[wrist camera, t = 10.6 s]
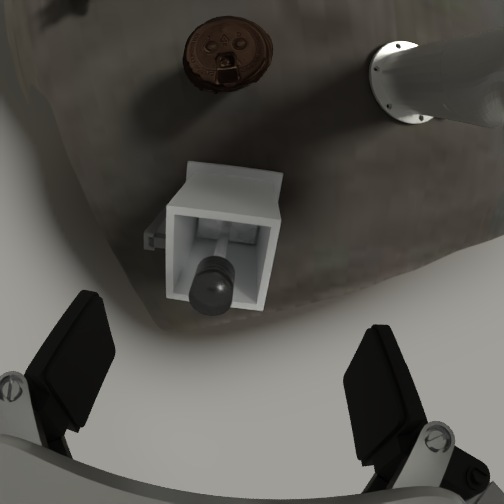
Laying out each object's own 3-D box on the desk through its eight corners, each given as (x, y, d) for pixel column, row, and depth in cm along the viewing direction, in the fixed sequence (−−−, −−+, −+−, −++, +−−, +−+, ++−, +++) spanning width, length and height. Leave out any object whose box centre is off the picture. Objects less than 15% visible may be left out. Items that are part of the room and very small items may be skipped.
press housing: (282, 172, 40) (296, 209, 26) (267, 255, 46) (271, 320, 32) (174, 159, 39) (134, 190, 26) (171, 242, 45) (139, 301, 32)
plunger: (262, 188, 40) (268, 262, 22) (254, 241, 44) (252, 340, 26) (203, 180, 39) (160, 248, 22) (198, 234, 43) (163, 327, 26)
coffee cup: (241, 110, 36) (235, 112, 24) (189, 79, 33) (159, 69, 22) (279, 59, 32) (291, 38, 21) (226, 28, 30) (213, -4, 19)
